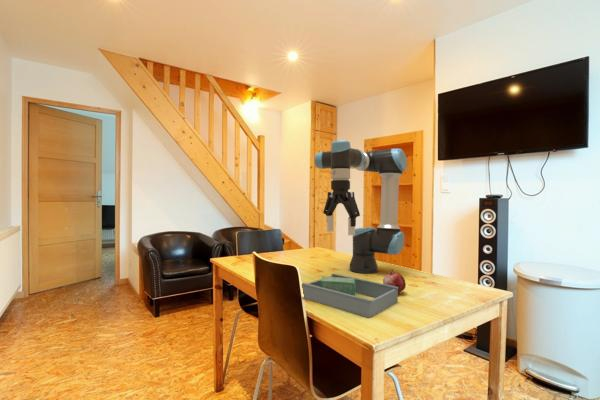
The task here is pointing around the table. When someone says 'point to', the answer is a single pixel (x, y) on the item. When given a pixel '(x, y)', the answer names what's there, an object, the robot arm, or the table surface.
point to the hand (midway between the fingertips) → (340, 233)
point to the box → (339, 284)
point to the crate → (351, 303)
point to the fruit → (395, 280)
